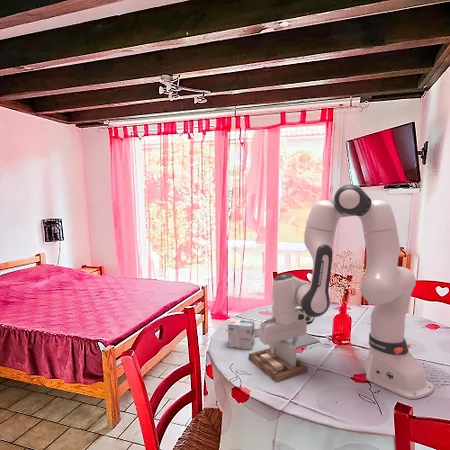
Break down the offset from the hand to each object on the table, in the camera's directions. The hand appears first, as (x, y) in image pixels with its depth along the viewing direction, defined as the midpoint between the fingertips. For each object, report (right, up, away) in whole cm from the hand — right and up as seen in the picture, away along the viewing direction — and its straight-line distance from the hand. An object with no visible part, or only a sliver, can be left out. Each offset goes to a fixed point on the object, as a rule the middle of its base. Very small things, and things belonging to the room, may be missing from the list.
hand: (283, 349), depth 133 cm
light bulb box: (-16, -4, +15) cm, 22 cm away
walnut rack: (-3, -5, -2) cm, 6 cm away
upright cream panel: (0, -5, 0) cm, 5 cm away
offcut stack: (-5, -6, -3) cm, 8 cm away
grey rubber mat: (+10, -3, +20) cm, 23 cm away
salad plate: (+15, -1, +45) cm, 48 cm away
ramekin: (-9, -3, +28) cm, 29 cm away
